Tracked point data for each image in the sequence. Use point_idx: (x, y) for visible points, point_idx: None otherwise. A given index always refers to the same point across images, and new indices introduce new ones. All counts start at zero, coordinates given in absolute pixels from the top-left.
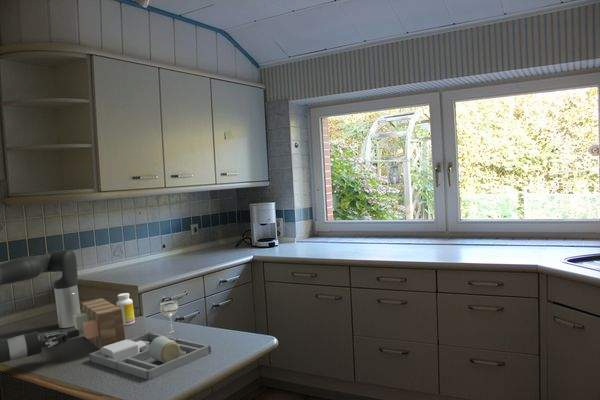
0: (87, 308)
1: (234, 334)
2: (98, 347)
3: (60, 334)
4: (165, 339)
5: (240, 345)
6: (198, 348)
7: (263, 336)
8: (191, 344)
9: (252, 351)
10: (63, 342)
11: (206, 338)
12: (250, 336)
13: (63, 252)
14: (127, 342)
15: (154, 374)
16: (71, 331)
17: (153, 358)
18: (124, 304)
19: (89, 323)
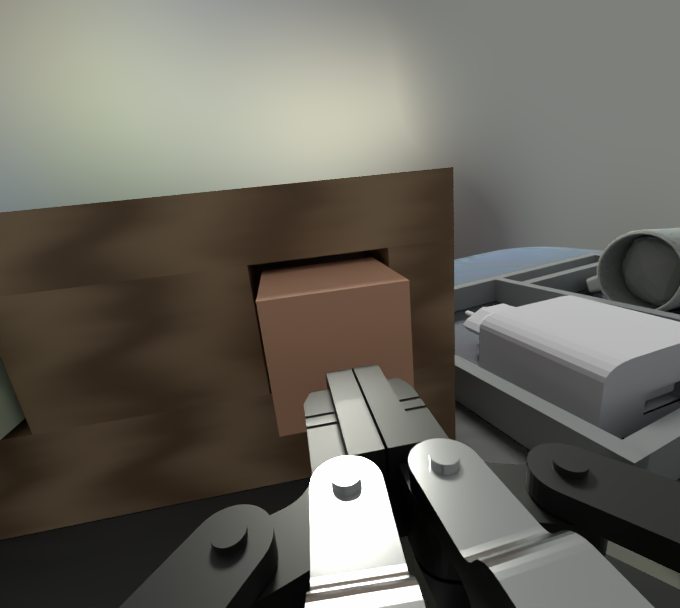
0: (5, 232)
1: (458, 263)
2: None
3: (559, 538)
4: (673, 228)
5: (546, 258)
6: None
7: (499, 250)
8: (552, 270)
9: (595, 251)
10: (672, 603)
11: (458, 278)
12: (489, 256)
13: None
14: (556, 307)
15: None
16: (387, 404)
17: (674, 305)
18: None
19: (368, 274)
